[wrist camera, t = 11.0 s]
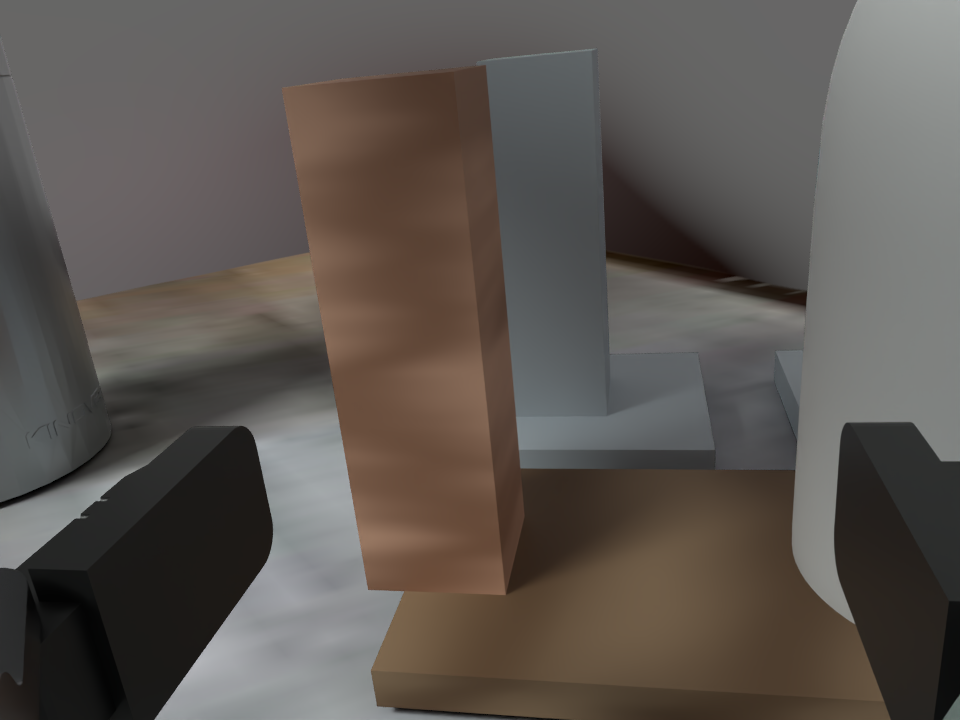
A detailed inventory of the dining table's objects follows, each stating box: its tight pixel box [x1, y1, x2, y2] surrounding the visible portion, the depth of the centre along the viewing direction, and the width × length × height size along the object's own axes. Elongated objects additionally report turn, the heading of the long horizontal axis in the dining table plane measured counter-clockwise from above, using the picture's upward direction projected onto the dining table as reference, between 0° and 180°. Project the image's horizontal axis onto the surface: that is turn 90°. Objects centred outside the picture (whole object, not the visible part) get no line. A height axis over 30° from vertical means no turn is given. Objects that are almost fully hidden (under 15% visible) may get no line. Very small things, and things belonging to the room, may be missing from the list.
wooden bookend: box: [282, 65, 891, 720], centre depth 18 cm, size 20×9×13 cm, turn 80°
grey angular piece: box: [476, 49, 803, 470], centre depth 27 cm, size 18×8×13 cm, turn 80°
